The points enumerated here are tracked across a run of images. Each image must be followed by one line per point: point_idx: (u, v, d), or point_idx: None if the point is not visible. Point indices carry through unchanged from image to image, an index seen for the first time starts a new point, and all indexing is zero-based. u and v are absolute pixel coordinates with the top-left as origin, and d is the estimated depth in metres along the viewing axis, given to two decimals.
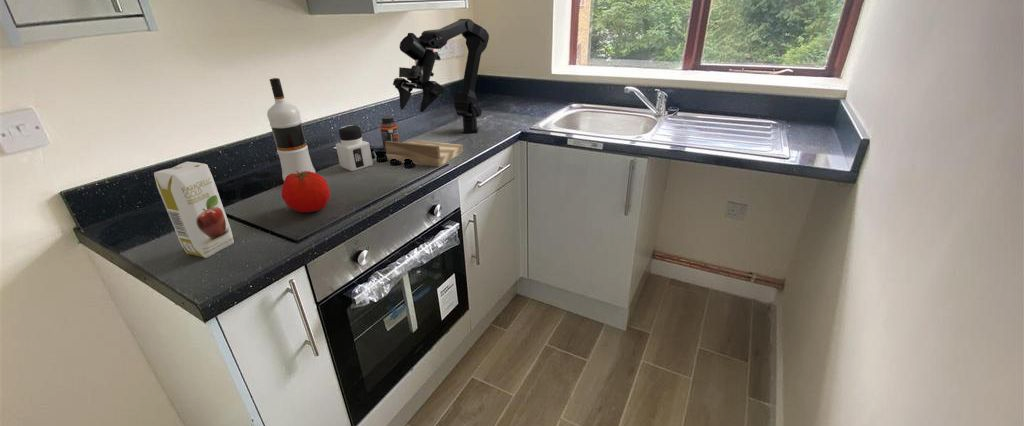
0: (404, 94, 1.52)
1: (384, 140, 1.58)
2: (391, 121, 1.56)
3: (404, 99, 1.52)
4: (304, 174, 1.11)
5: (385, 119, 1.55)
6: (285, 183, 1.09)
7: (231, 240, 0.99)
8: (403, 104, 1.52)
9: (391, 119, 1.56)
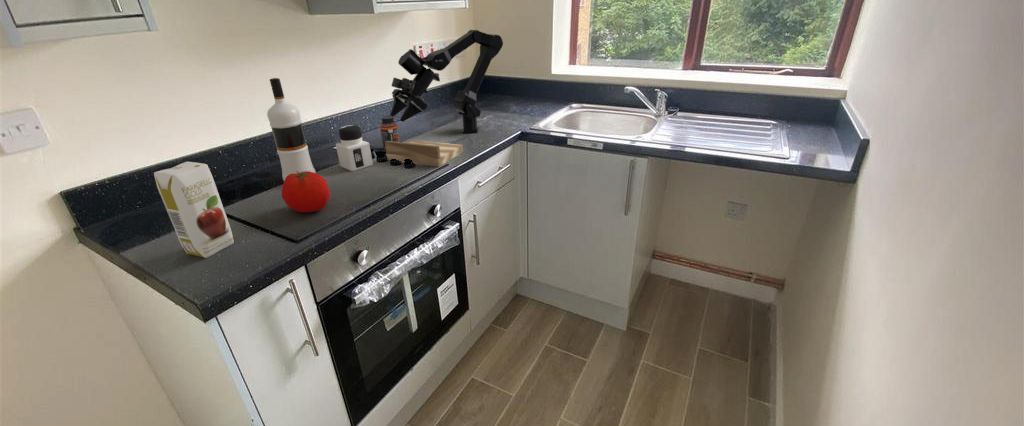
0: (397, 104, 1.62)
1: (384, 140, 1.58)
2: (391, 121, 1.56)
3: (397, 109, 1.62)
4: (304, 174, 1.11)
5: (385, 119, 1.55)
6: (285, 183, 1.09)
7: (231, 240, 0.99)
8: (394, 113, 1.62)
9: (391, 119, 1.56)
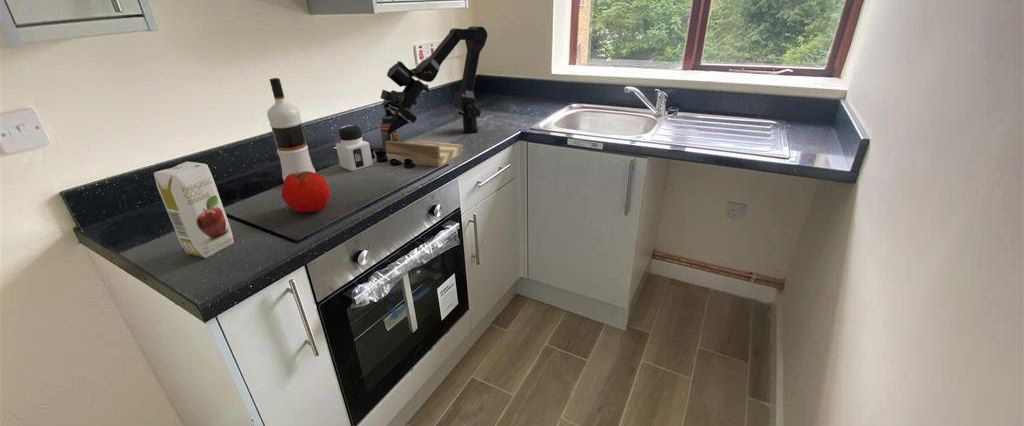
0: None
1: (384, 140, 1.58)
2: (391, 121, 1.56)
3: None
4: (304, 174, 1.11)
5: (385, 119, 1.55)
6: (285, 183, 1.09)
7: (231, 240, 0.99)
8: None
9: (391, 119, 1.56)
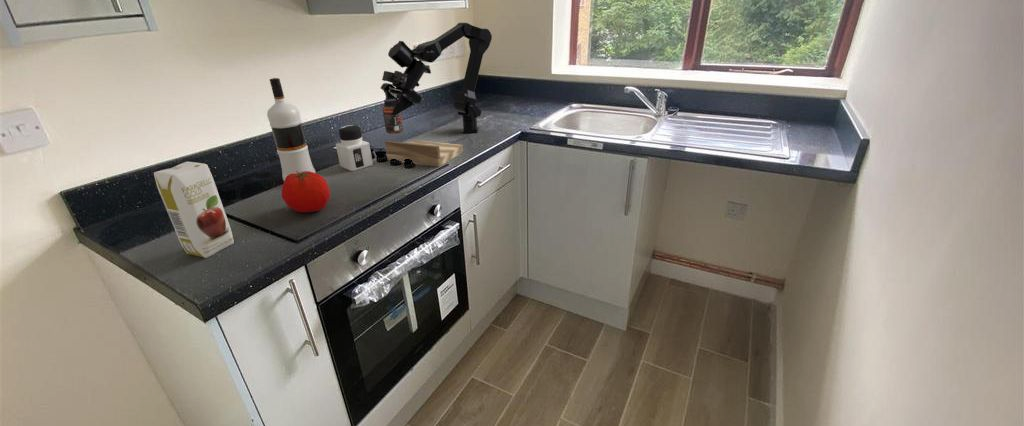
0: None
1: (387, 124, 1.52)
2: (394, 103, 1.50)
3: None
4: (304, 174, 1.11)
5: (388, 101, 1.49)
6: (285, 183, 1.09)
7: (231, 240, 0.99)
8: None
9: (394, 101, 1.50)
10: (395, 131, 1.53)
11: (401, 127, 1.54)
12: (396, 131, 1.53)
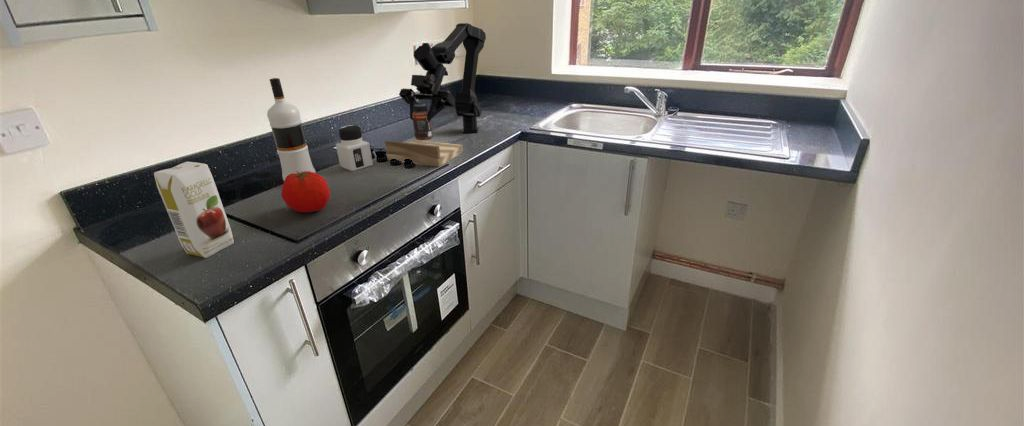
0: None
1: (421, 130, 1.45)
2: (426, 108, 1.44)
3: (414, 110, 1.47)
4: (304, 174, 1.11)
5: (421, 107, 1.42)
6: (285, 183, 1.09)
7: (231, 240, 0.99)
8: None
9: (426, 106, 1.44)
10: (428, 137, 1.47)
11: (432, 132, 1.48)
12: (429, 137, 1.47)
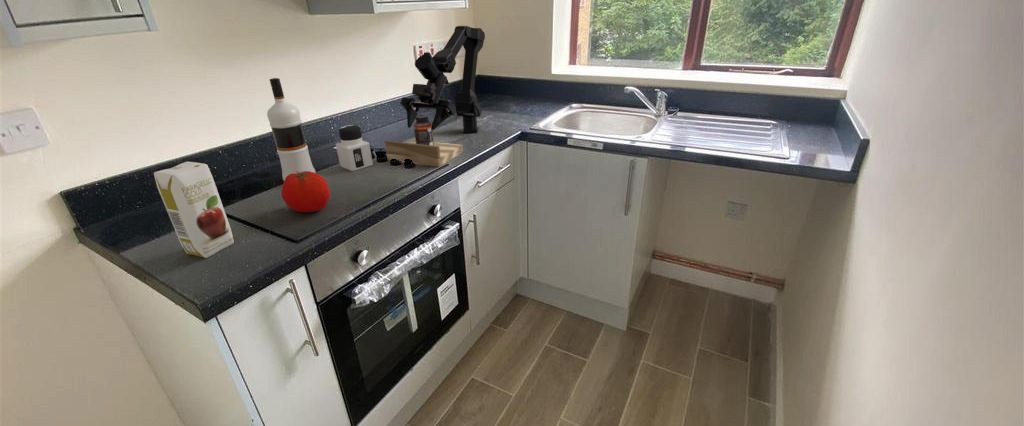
0: (411, 113, 1.49)
1: (422, 141, 1.46)
2: (427, 119, 1.46)
3: (412, 118, 1.49)
4: (304, 174, 1.11)
5: (423, 118, 1.44)
6: (285, 183, 1.09)
7: (231, 240, 0.99)
8: (410, 123, 1.48)
9: (427, 117, 1.46)
10: None
11: (433, 143, 1.50)
12: None
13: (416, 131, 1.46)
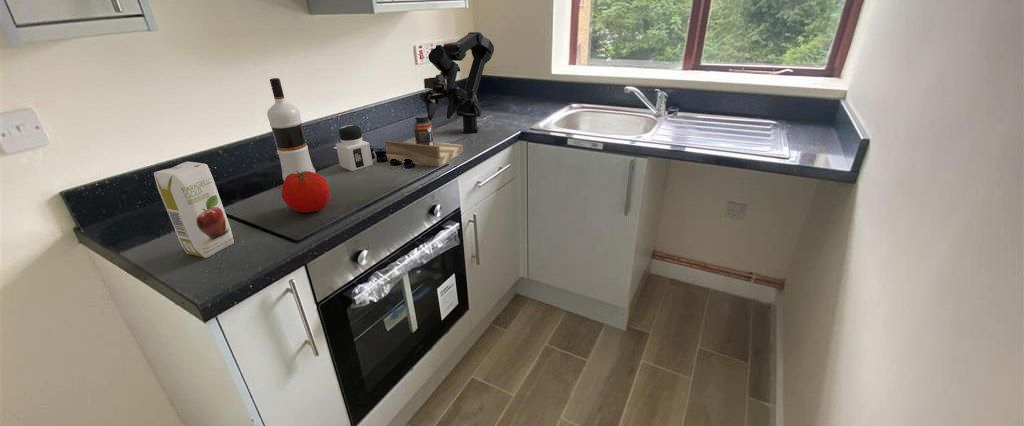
0: (431, 106, 1.58)
1: (422, 141, 1.46)
2: (427, 119, 1.46)
3: (432, 111, 1.58)
4: (304, 174, 1.11)
5: (423, 118, 1.44)
6: (285, 183, 1.09)
7: (231, 240, 0.99)
8: (431, 115, 1.57)
9: (427, 117, 1.46)
10: None
11: (433, 143, 1.50)
12: None
13: (416, 131, 1.46)
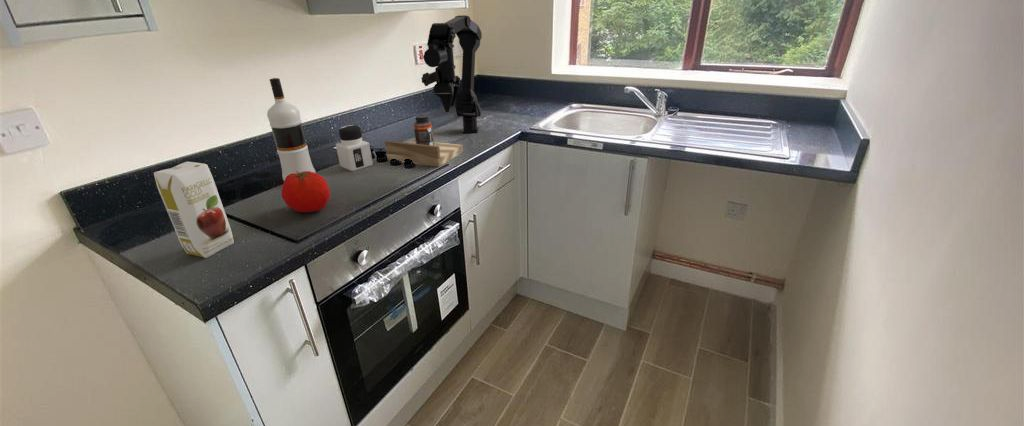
0: None
1: (422, 141, 1.46)
2: (427, 119, 1.46)
3: None
4: (304, 174, 1.11)
5: (423, 118, 1.44)
6: (285, 183, 1.09)
7: (231, 240, 0.99)
8: (451, 101, 1.60)
9: (427, 117, 1.46)
10: None
11: (433, 143, 1.50)
12: None
13: (416, 131, 1.46)
